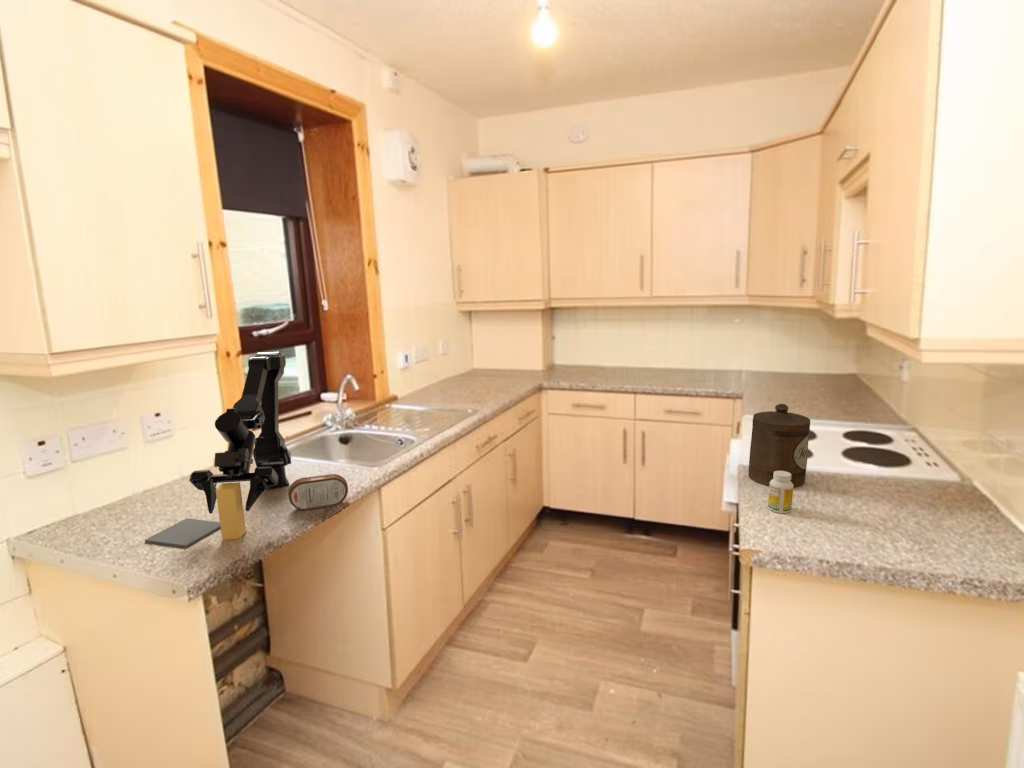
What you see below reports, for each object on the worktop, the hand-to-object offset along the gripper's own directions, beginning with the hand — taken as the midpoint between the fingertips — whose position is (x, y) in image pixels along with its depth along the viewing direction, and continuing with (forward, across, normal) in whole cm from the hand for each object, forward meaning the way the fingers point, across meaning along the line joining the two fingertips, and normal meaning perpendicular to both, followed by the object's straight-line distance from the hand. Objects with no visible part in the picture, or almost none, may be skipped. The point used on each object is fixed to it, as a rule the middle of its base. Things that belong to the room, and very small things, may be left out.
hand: (228, 511), depth 131 cm
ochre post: (+4, 0, +6) cm, 7 cm away
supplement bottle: (+9, +133, +1) cm, 134 cm away
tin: (-6, +17, +16) cm, 24 cm away
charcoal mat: (+2, -12, +8) cm, 14 cm away
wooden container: (-5, +144, +15) cm, 145 cm away
